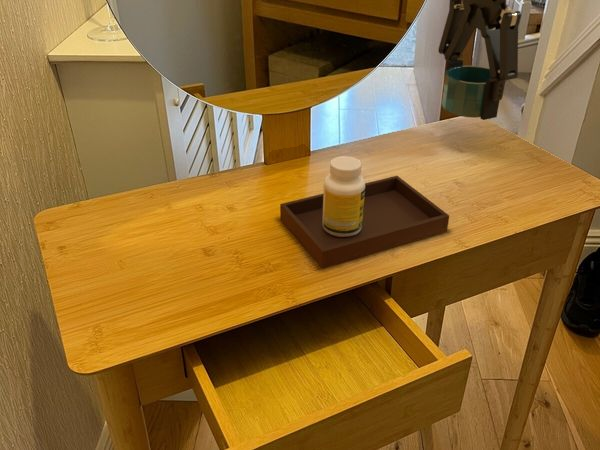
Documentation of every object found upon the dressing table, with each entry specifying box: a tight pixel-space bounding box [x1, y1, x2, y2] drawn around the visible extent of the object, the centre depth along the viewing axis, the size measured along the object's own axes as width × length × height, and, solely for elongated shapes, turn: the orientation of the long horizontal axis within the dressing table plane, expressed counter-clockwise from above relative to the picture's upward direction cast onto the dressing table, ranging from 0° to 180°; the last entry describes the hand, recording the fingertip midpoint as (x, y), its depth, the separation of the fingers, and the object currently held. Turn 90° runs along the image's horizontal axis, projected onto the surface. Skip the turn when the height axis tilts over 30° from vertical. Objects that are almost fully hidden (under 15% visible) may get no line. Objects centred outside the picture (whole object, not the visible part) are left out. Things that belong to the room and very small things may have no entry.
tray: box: [279, 175, 450, 269], centre depth 85 cm, size 19×13×3 cm, turn 116°
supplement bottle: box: [322, 155, 366, 237], centre depth 82 cm, size 5×5×10 cm
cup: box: [441, 65, 500, 119], centre depth 103 cm, size 9×9×6 cm
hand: (468, 107), depth 105 cm, fingers closed on cup, 9 cm apart
